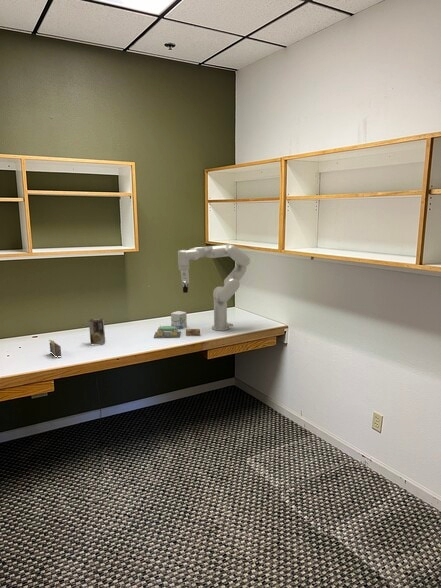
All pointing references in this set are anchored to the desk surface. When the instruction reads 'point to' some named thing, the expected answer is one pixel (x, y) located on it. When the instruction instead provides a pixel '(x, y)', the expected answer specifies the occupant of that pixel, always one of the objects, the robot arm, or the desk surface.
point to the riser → (192, 332)
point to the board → (167, 328)
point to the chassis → (167, 334)
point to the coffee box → (97, 331)
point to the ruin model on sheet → (55, 348)
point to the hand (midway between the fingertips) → (185, 291)
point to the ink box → (179, 319)
